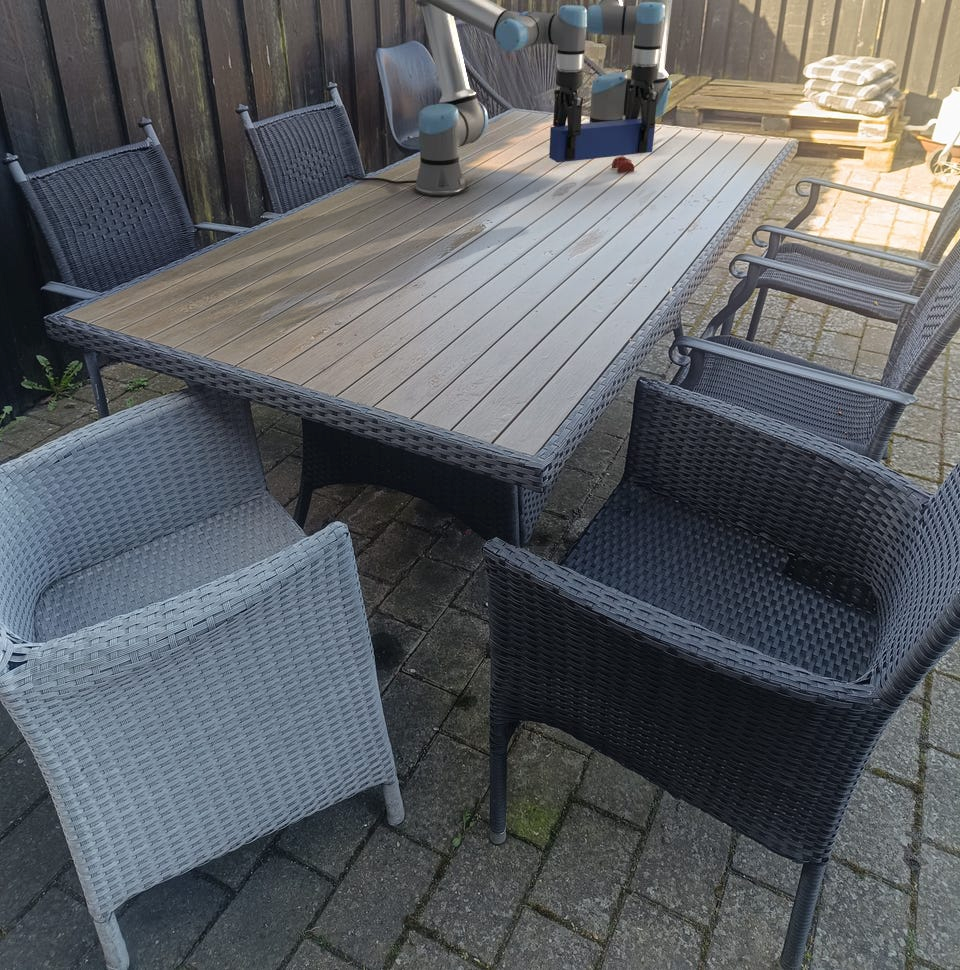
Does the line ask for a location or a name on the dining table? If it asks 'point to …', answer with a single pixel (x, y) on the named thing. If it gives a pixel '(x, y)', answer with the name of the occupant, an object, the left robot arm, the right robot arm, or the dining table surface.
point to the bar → (600, 140)
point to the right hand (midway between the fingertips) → (636, 149)
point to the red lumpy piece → (623, 164)
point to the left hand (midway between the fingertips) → (565, 156)
